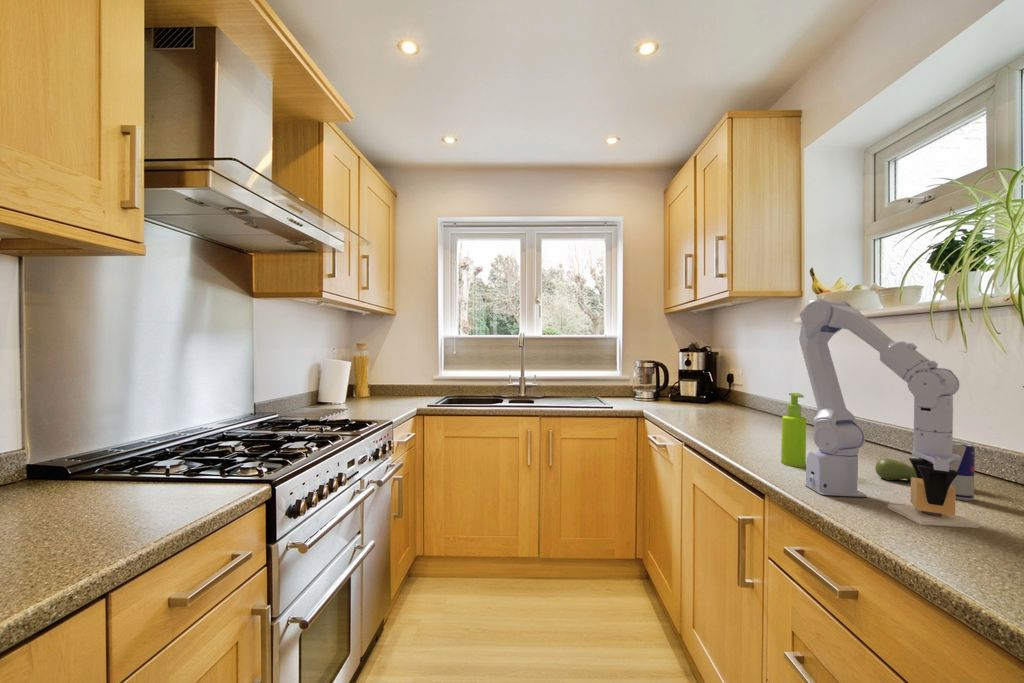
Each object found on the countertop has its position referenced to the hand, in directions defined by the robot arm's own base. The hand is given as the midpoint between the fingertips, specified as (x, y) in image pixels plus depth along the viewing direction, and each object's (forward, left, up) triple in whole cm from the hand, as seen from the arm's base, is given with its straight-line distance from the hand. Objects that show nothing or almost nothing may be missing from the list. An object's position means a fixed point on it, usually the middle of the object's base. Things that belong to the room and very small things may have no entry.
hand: (931, 500), depth 93 cm
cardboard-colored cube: (0, 0, -2) cm, 2 cm away
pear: (+13, +28, -4) cm, 31 cm away
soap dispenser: (-7, +40, -4) cm, 41 cm away
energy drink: (+16, +15, -4) cm, 22 cm away
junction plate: (0, 0, -3) cm, 3 cm away
